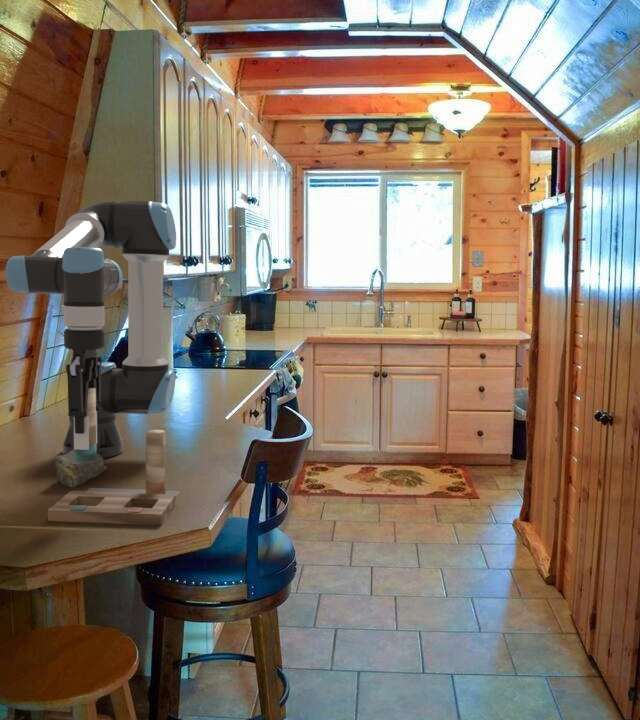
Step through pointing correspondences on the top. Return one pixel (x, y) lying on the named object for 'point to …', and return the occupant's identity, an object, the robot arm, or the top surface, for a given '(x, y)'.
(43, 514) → the top surface
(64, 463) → the rock
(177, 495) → the mat
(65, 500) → the socket board
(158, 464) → the peg
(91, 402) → the peg
